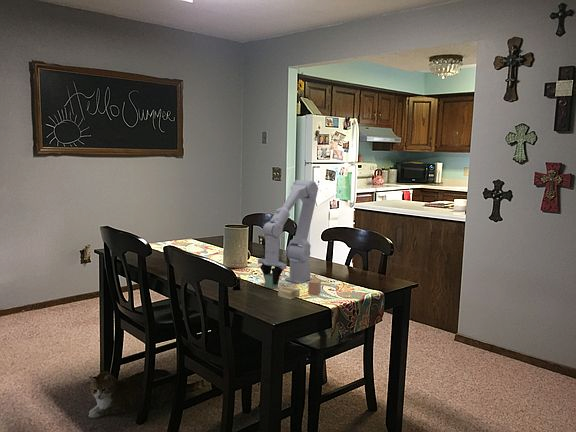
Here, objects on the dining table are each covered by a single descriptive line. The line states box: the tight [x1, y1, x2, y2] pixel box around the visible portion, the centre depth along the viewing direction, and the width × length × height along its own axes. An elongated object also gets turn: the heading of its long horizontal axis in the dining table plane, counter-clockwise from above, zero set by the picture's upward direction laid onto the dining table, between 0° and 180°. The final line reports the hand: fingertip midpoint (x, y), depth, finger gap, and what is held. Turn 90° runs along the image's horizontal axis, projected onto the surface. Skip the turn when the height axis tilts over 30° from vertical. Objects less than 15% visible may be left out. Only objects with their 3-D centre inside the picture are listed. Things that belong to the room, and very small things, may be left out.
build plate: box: [229, 276, 245, 291], centre depth 212 cm, size 12×7×5 cm, turn 4°
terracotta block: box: [307, 279, 322, 296], centre depth 206 cm, size 4×4×5 cm
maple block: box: [277, 285, 301, 300], centre depth 202 cm, size 6×6×3 cm
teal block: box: [264, 272, 279, 289], centre depth 213 cm, size 4×4×5 cm
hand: (271, 283), depth 213 cm, fingers closed on teal block, 4 cm apart
